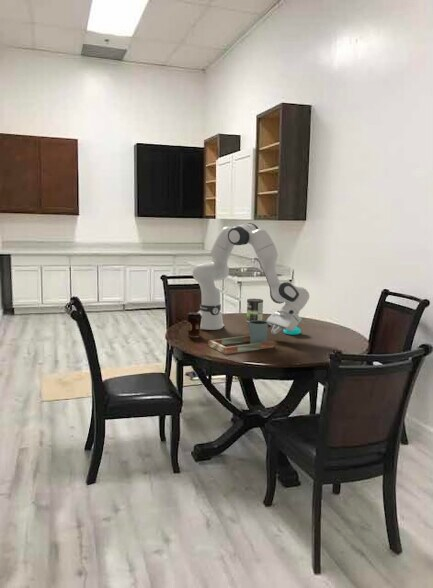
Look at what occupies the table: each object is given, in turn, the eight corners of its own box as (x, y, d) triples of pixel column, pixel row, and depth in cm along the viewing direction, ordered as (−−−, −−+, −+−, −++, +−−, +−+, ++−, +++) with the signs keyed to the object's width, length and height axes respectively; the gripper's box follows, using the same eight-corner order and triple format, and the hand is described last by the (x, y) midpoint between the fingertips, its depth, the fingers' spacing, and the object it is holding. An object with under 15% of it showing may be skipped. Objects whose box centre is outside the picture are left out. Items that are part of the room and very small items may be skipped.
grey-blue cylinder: (266, 347, 250) (267, 324, 248) (247, 346, 252) (247, 323, 250) (268, 342, 260) (269, 320, 258) (249, 341, 262) (250, 319, 260)
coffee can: (250, 323, 307) (250, 301, 305) (244, 320, 317) (244, 298, 315) (265, 322, 310) (265, 300, 308) (258, 319, 320) (259, 298, 318)
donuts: (303, 315, 283) (298, 318, 274) (303, 332, 284) (297, 336, 276) (287, 314, 287) (281, 316, 279) (286, 330, 289) (280, 334, 280)
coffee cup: (187, 338, 267) (187, 315, 265) (184, 334, 275) (184, 312, 273) (203, 337, 269) (203, 314, 267) (199, 334, 277) (199, 311, 275)
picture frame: (208, 346, 251) (208, 340, 251) (255, 339, 265) (255, 334, 265) (225, 354, 237) (225, 348, 236) (273, 347, 251) (274, 341, 250)
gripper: (273, 306, 271) (258, 325, 268) (297, 313, 253) (281, 333, 250) (279, 313, 274) (264, 332, 270) (303, 320, 256) (287, 340, 253)
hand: (272, 333), depth 260 cm, fingers closed
